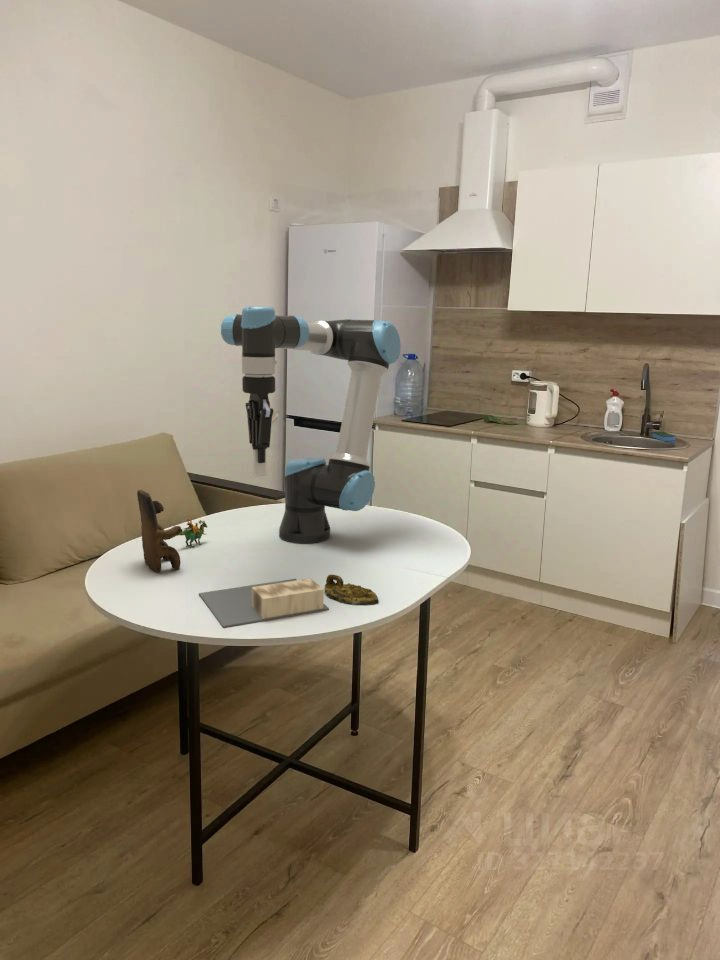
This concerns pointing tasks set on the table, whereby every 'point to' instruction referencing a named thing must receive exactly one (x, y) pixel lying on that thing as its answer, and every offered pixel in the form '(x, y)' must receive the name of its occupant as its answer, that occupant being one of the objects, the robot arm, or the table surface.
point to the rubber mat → (239, 605)
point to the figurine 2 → (193, 532)
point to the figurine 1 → (156, 534)
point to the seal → (348, 592)
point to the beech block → (287, 598)
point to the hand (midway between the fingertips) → (259, 475)
